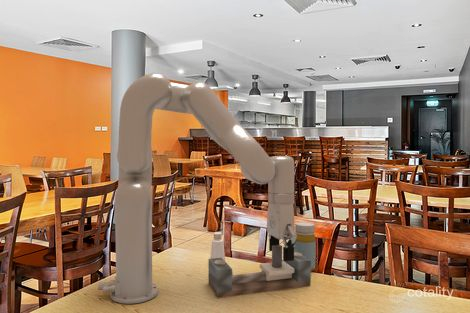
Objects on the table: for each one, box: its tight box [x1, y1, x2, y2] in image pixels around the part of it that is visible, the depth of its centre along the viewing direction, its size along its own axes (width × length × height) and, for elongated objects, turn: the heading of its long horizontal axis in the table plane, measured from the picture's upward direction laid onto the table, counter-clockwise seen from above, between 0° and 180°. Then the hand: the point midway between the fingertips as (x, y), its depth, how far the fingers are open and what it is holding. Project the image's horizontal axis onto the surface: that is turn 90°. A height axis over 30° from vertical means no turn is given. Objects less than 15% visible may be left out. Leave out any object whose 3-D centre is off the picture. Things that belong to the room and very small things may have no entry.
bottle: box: [294, 221, 317, 273], centre depth 124 cm, size 7×7×15 cm
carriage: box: [259, 244, 294, 281], centre depth 112 cm, size 8×7×9 cm
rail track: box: [208, 251, 312, 299], centre depth 110 cm, size 28×10×8 cm, turn 108°
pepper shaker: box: [209, 231, 226, 262], centre depth 127 cm, size 5×5×11 cm
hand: (281, 255), depth 112 cm, fingers open, 9 cm apart
